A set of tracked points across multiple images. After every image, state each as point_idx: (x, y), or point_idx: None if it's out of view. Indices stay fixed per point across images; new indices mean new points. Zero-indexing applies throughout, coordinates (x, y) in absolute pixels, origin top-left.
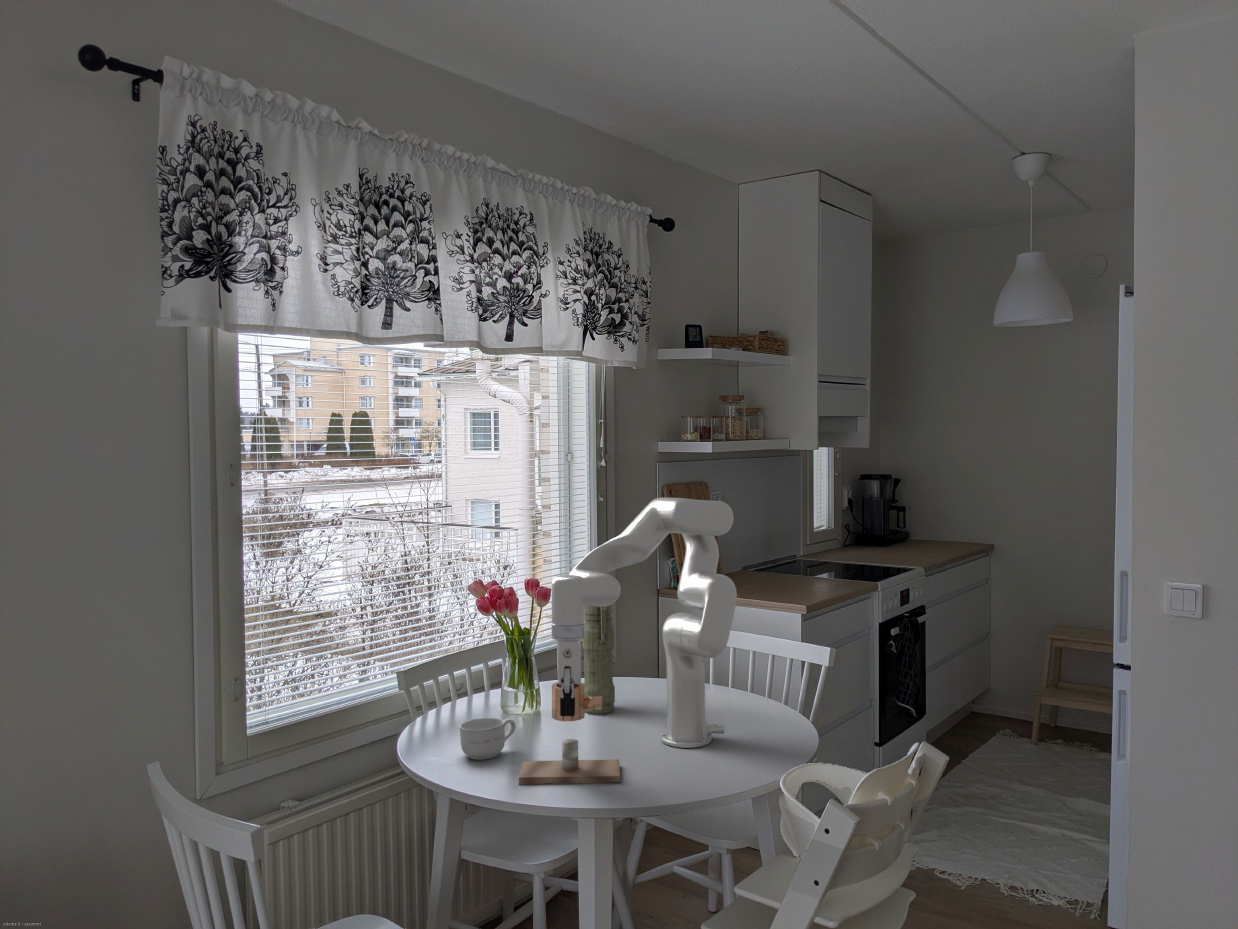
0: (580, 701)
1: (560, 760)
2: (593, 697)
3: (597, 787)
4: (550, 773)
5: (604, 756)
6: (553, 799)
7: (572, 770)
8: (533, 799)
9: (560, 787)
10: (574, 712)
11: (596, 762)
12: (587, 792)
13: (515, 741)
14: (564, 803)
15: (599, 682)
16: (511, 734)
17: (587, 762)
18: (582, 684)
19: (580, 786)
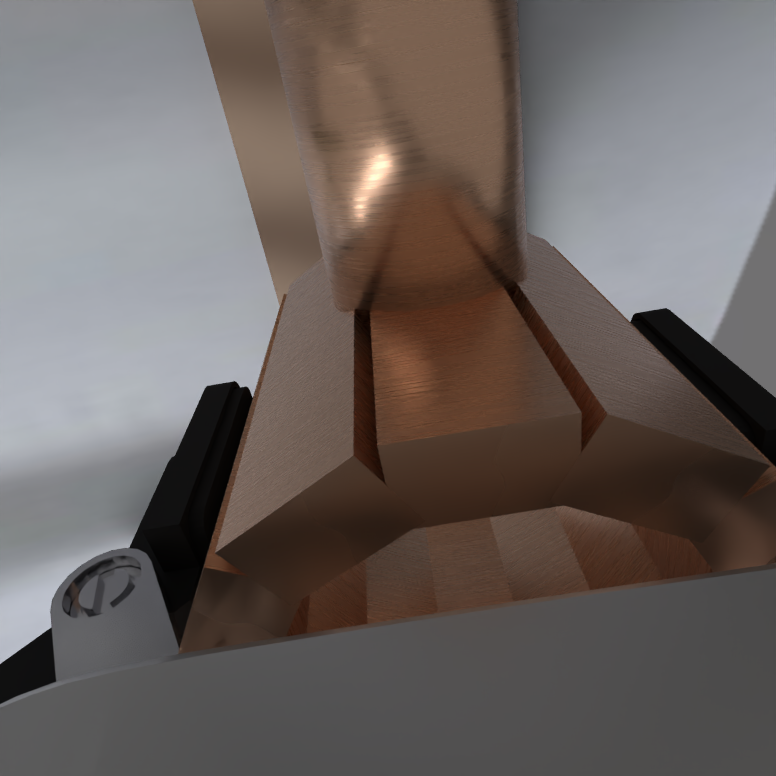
0: (619, 321)
1: (279, 303)
2: (455, 120)
3: (559, 4)
4: None
5: (26, 57)
6: (699, 226)
7: None
8: (684, 313)
9: (552, 227)
10: (682, 324)
11: (262, 72)
12: (630, 57)
13: (20, 547)
14: (758, 159)
15: None
16: None
17: (277, 137)
18: (434, 481)
19: (541, 120)
